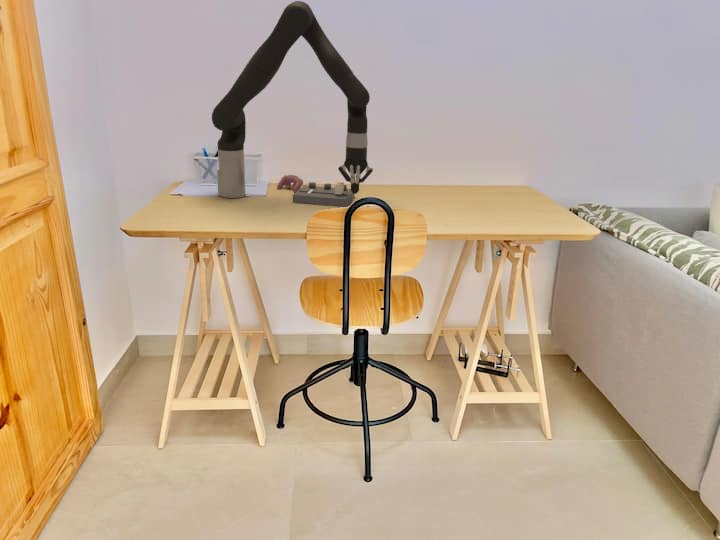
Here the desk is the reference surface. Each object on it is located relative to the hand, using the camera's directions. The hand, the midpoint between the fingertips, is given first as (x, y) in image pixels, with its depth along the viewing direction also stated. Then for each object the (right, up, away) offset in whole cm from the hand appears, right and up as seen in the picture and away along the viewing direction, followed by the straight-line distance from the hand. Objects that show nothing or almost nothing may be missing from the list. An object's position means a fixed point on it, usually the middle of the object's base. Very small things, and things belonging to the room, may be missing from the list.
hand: (354, 193), depth 202 cm
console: (-11, -2, +5) cm, 13 cm away
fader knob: (-6, 0, +1) cm, 6 cm away
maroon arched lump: (-26, +3, +17) cm, 31 cm away
